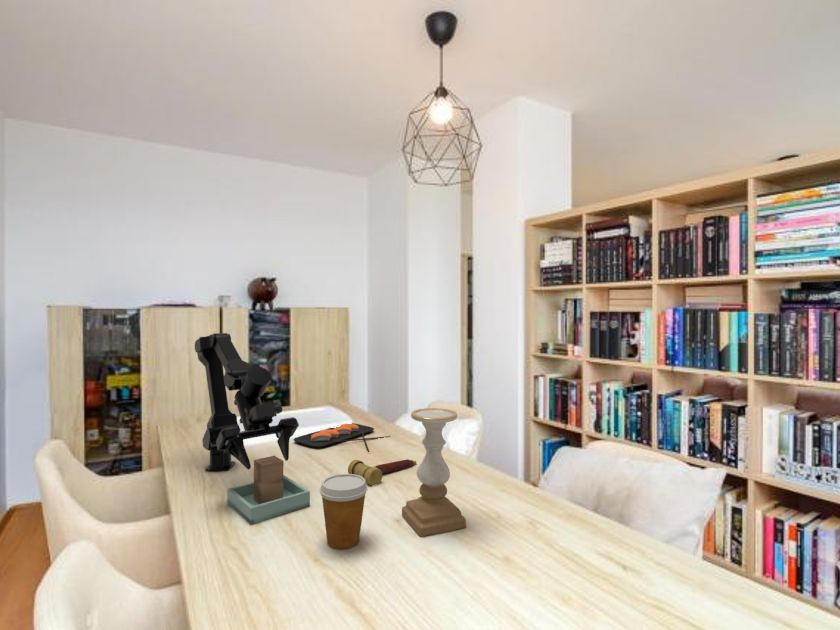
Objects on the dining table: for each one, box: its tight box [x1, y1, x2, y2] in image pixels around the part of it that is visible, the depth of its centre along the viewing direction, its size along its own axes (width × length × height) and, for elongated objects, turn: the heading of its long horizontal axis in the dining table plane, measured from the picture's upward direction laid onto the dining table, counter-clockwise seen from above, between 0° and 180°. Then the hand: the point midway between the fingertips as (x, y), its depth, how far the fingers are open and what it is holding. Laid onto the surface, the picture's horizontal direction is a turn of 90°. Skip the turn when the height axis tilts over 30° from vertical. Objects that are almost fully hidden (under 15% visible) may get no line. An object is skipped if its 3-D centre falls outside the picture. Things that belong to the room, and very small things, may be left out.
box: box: [226, 474, 311, 525], centre depth 107 cm, size 14×14×4 cm
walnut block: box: [253, 455, 284, 504], centre depth 107 cm, size 5×5×10 cm
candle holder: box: [401, 407, 467, 538], centre depth 100 cm, size 11×11×24 cm
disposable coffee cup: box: [318, 473, 369, 550], centre depth 91 cm, size 10×10×12 cm
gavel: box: [347, 459, 417, 486], centre depth 129 cm, size 21×5×10 cm
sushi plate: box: [293, 422, 392, 453], centre depth 159 cm, size 29×30×4 cm
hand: (268, 464), depth 107 cm, fingers open, 9 cm apart
